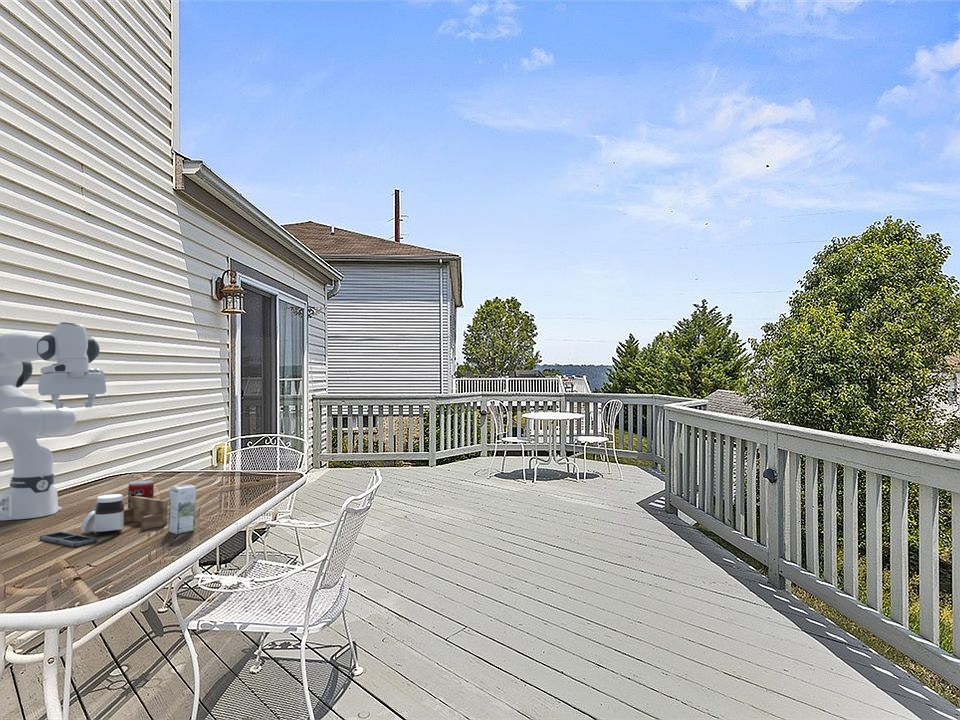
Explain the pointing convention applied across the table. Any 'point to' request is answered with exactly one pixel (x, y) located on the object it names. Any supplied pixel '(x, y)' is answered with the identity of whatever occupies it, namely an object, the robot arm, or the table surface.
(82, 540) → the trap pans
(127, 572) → the table surface
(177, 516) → the syrup box
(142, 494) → the canned food
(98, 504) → the spread jar
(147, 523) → the brown box
